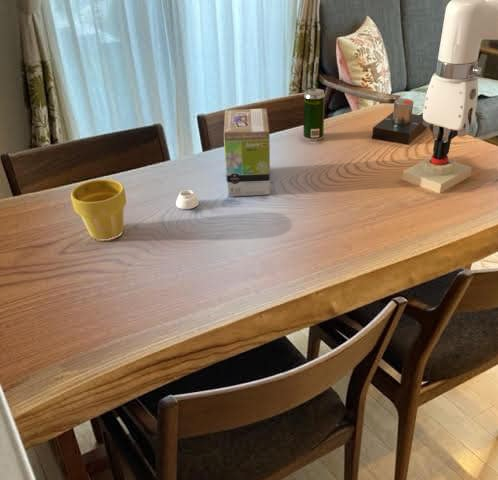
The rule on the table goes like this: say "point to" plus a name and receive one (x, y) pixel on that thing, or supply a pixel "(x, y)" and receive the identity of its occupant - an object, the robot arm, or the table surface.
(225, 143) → the tea box
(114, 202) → the flower pot
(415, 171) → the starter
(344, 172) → the table surface
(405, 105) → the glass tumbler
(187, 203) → the lidless jar
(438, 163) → the button
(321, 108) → the beer can
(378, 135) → the hob
